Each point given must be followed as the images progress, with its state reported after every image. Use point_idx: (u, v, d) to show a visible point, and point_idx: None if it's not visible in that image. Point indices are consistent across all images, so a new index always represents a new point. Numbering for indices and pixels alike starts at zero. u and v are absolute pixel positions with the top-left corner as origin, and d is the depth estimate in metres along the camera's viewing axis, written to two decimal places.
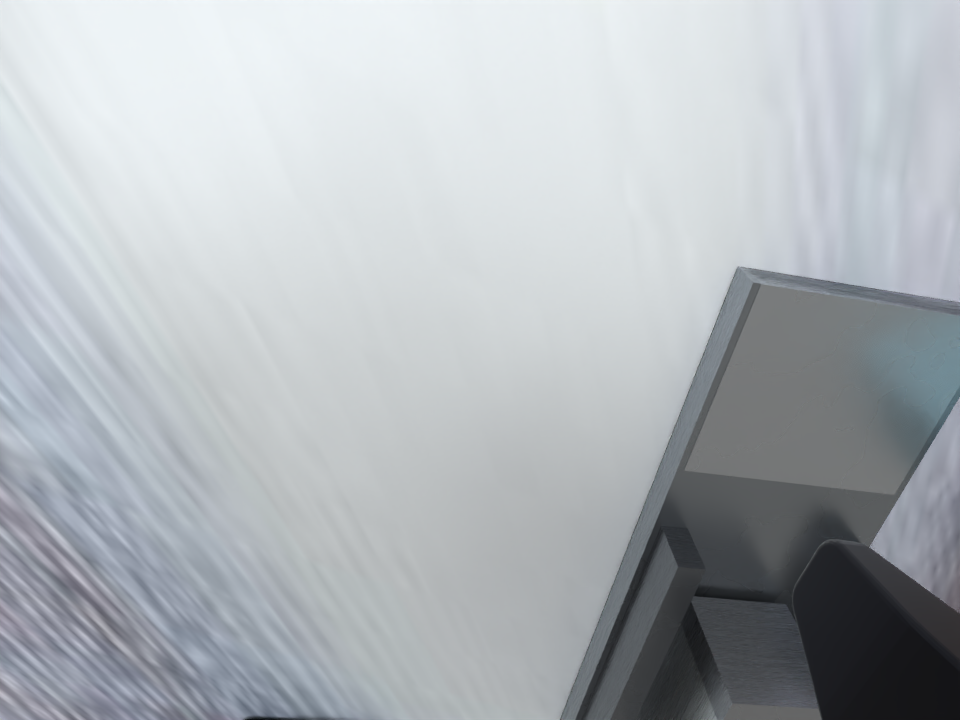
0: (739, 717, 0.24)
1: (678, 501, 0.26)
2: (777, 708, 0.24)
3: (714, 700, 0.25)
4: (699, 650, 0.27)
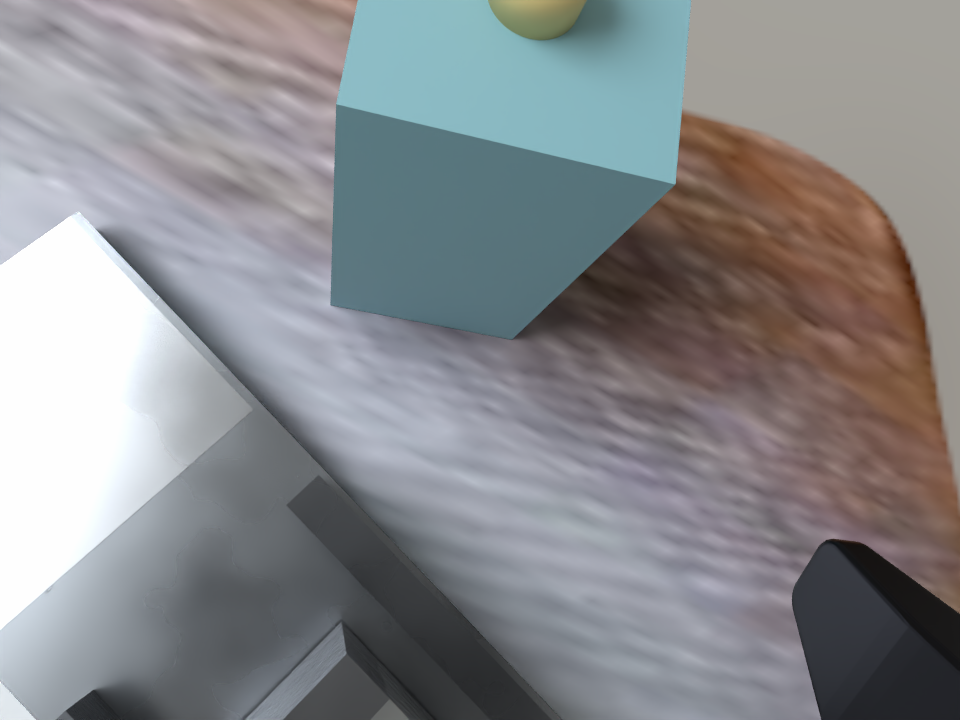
0: None
1: (33, 678, 0.17)
2: None
3: None
4: None
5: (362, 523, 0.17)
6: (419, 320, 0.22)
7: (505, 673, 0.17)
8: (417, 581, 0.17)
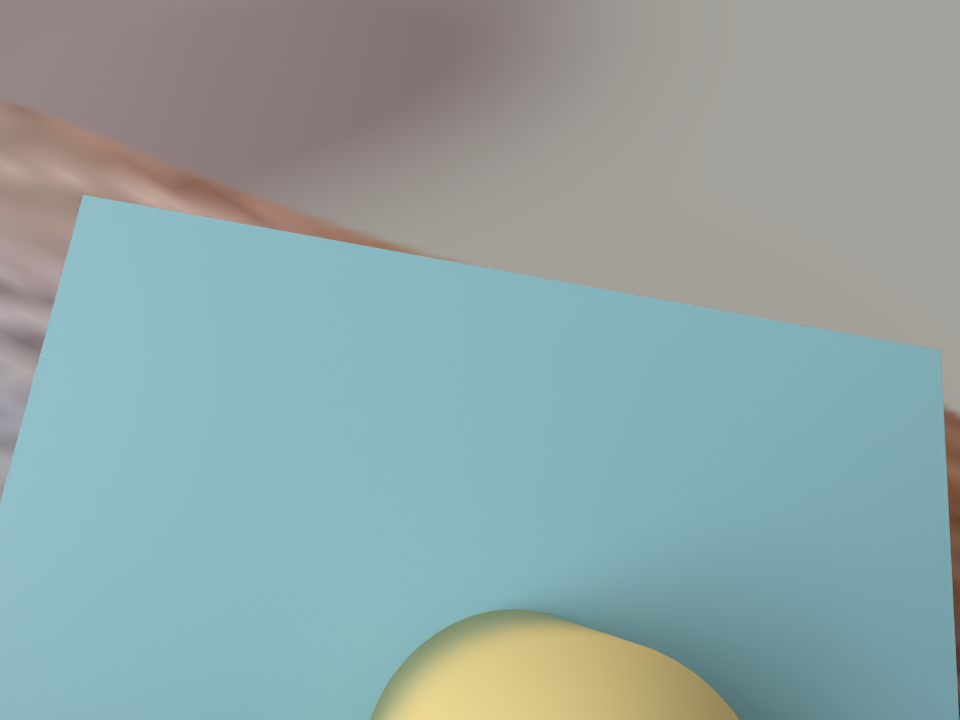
0: None
1: None
2: None
3: None
4: None
5: None
6: None
7: None
8: None
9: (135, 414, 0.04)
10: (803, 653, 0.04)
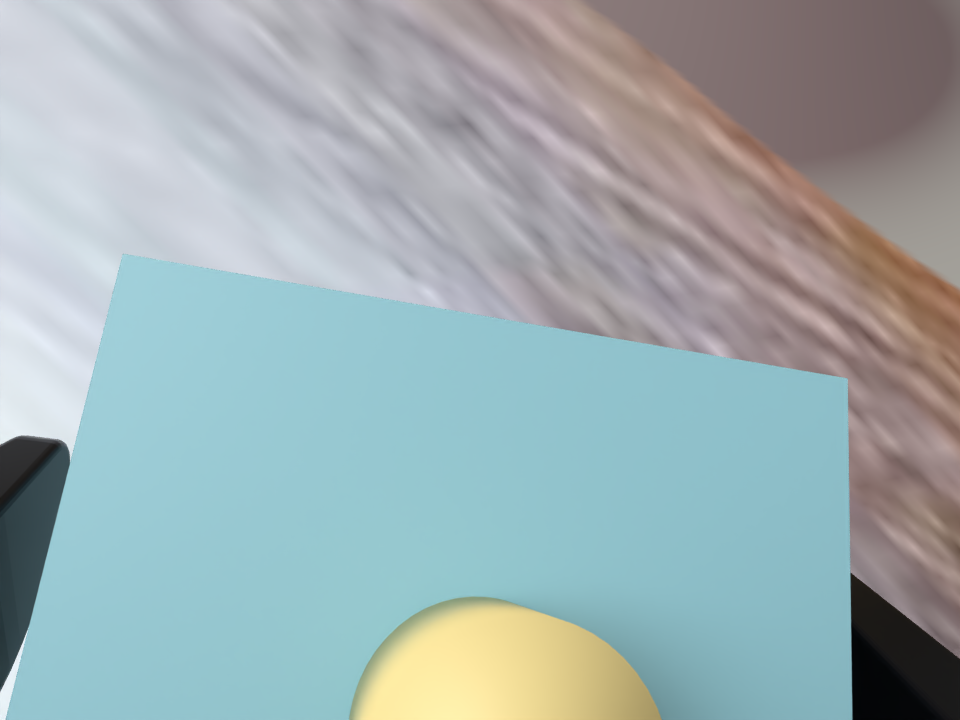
0: None
1: None
2: None
3: None
4: None
5: None
6: None
7: None
8: None
9: (166, 435, 0.05)
10: (721, 633, 0.05)
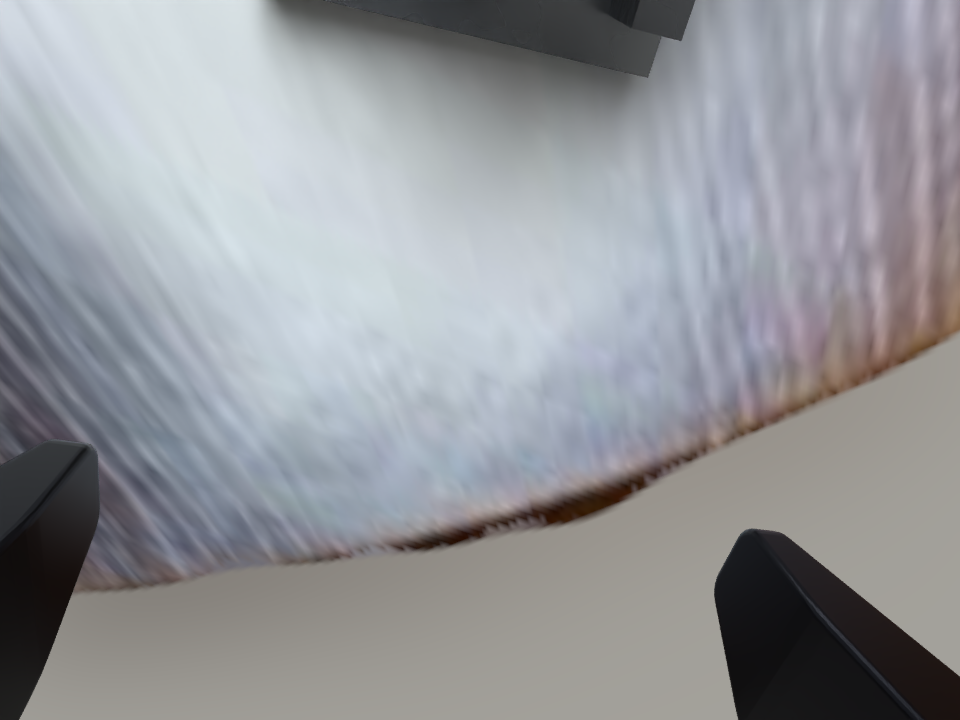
0: None
1: None
2: None
3: None
4: None
5: None
6: None
7: None
8: None
9: None
10: None
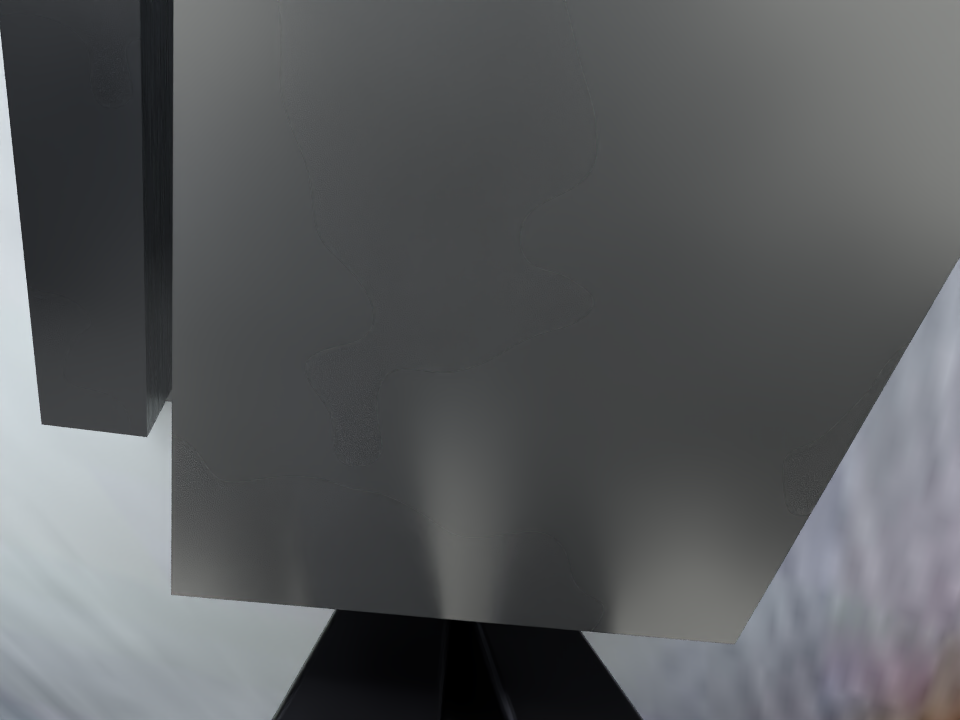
0: None
1: None
2: None
3: None
4: None
5: None
6: None
7: None
8: None
9: None
10: None
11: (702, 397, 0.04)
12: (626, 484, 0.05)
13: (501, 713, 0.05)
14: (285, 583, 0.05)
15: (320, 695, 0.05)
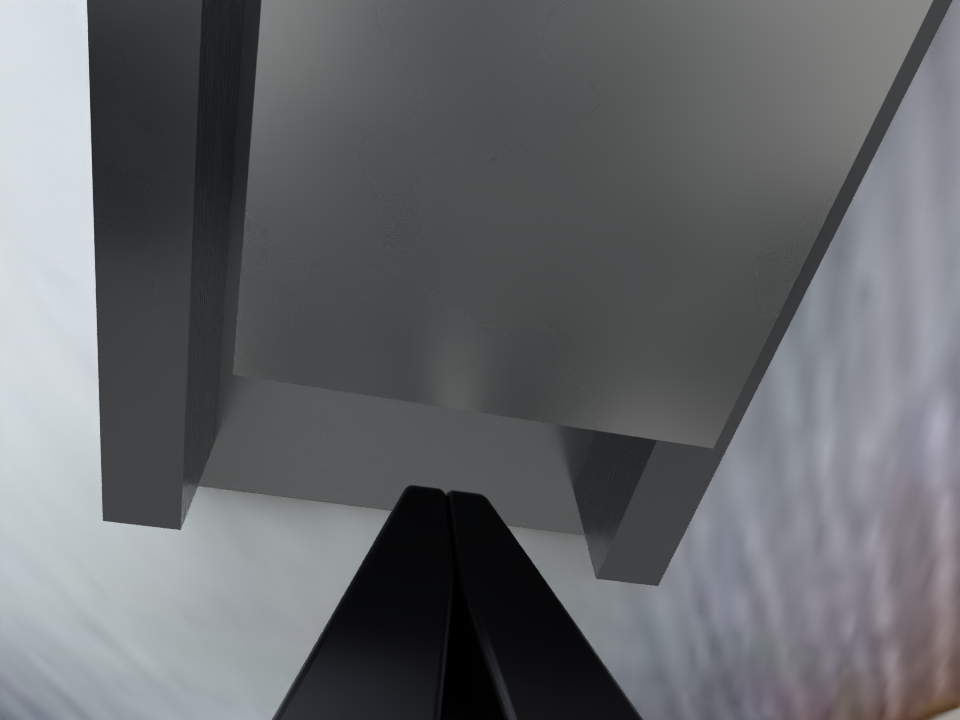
0: None
1: None
2: None
3: None
4: None
5: None
6: None
7: (820, 252, 0.09)
8: None
9: None
10: None
11: (686, 196, 0.05)
12: (622, 277, 0.05)
13: (501, 713, 0.05)
14: (330, 367, 0.06)
15: (319, 695, 0.05)
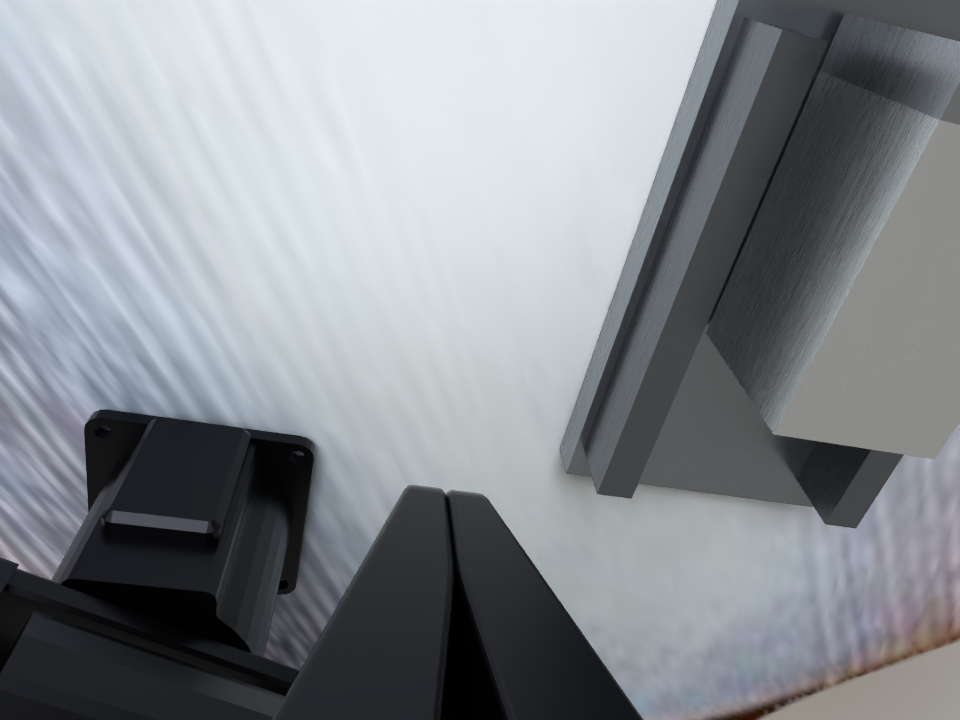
0: None
1: None
2: None
3: (922, 93, 0.13)
4: (876, 60, 0.15)
5: None
6: None
7: None
8: None
9: None
10: None
11: (941, 376, 0.16)
12: (914, 401, 0.16)
13: (501, 714, 0.05)
14: (807, 431, 0.16)
15: (319, 695, 0.05)
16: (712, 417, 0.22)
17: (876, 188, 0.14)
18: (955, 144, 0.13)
